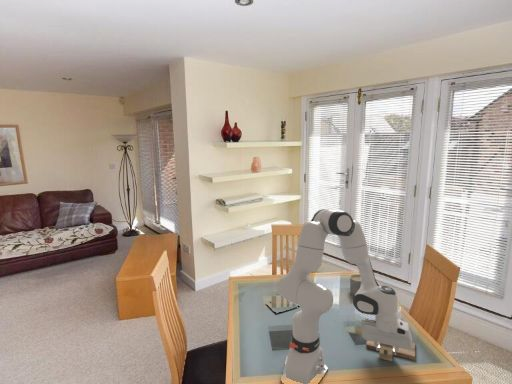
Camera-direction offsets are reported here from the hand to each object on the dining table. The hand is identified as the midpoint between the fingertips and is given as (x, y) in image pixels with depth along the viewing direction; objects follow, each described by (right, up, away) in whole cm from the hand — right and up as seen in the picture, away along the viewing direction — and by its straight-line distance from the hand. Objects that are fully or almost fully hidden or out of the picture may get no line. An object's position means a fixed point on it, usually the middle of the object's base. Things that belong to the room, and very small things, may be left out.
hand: (386, 351), depth 128 cm
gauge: (+2, -2, +4) cm, 5 cm away
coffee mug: (+9, +5, +57) cm, 58 cm away
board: (+5, -2, +7) cm, 9 cm away
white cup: (+13, +1, +22) cm, 26 cm away
